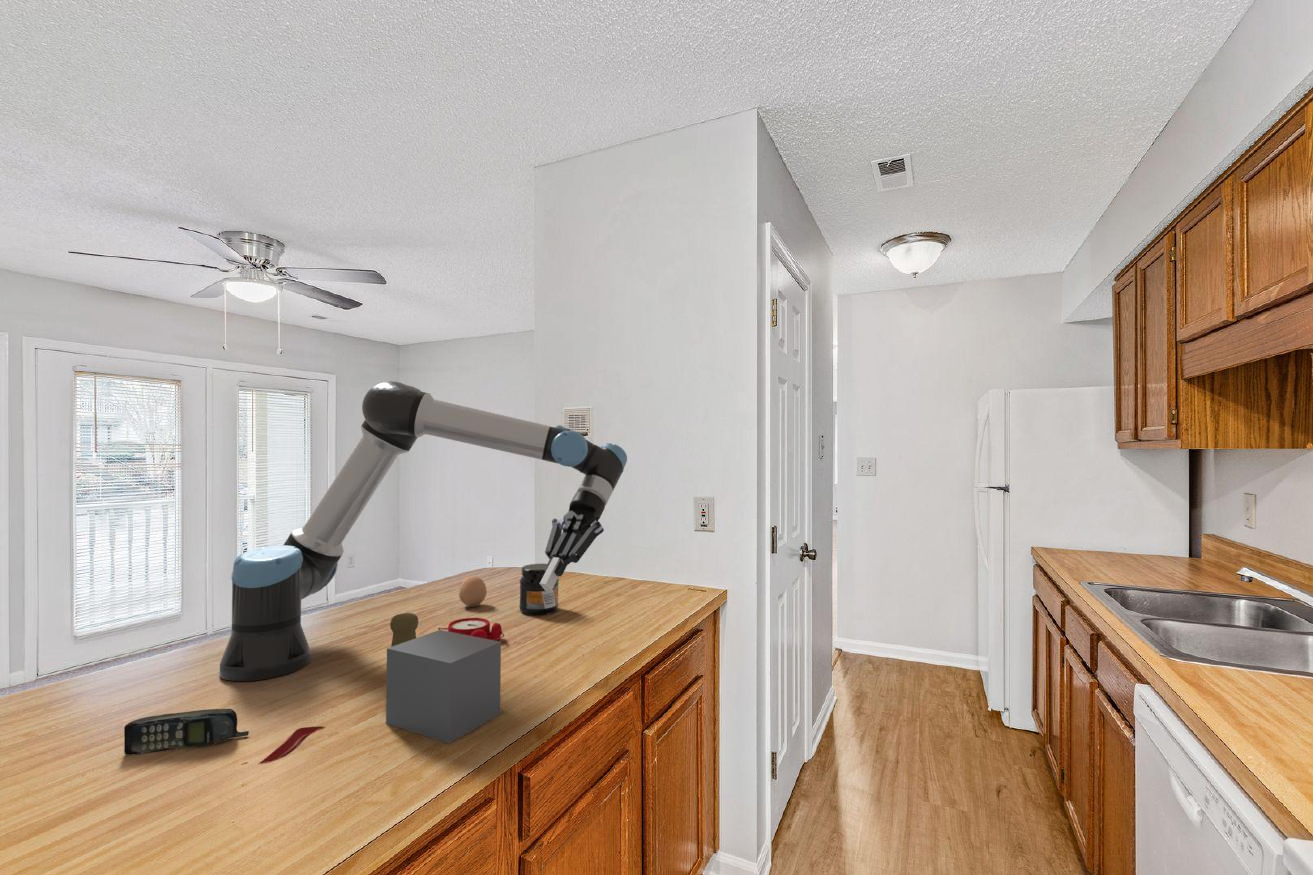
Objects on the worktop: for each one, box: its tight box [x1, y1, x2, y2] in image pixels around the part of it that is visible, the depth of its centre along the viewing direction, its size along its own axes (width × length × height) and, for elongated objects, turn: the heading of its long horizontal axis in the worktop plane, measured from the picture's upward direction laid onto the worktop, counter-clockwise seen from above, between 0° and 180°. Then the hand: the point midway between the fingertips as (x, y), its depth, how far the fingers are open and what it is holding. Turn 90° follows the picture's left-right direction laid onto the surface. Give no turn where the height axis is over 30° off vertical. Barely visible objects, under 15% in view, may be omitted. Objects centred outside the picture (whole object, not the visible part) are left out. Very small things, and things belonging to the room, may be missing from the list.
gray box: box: [385, 629, 502, 744], centre depth 96 cm, size 11×14×12 cm
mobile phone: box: [123, 708, 250, 756], centre depth 87 cm, size 5×3×15 cm
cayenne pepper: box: [257, 726, 326, 765], centre depth 88 cm, size 12×5×2 cm, turn 156°
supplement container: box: [518, 563, 560, 616], centre depth 160 cm, size 10×10×12 cm
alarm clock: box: [437, 617, 505, 641], centre depth 135 cm, size 10×6×15 cm
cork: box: [389, 612, 419, 647], centre depth 117 cm, size 6×6×11 cm
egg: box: [458, 575, 487, 608], centre depth 164 cm, size 7×7×8 cm
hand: (545, 587), depth 120 cm, fingers closed
